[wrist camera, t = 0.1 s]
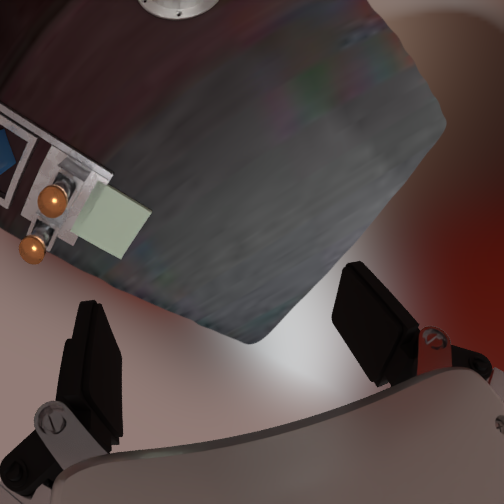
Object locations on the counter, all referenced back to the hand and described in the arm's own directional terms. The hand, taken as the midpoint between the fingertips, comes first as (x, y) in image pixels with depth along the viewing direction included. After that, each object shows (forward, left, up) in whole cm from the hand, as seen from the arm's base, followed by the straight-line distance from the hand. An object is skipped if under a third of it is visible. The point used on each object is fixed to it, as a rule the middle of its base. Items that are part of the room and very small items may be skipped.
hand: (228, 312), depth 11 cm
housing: (+2, -25, -37) cm, 44 cm away
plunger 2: (+4, -17, -33) cm, 37 cm away
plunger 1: (+10, -22, -33) cm, 40 cm away
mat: (+12, -12, -37) cm, 40 cm away
